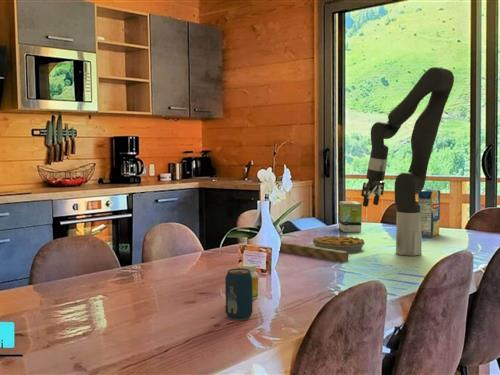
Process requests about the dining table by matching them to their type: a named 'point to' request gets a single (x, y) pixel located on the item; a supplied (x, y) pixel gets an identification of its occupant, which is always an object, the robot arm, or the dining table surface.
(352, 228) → the tea box
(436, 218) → the beverage box
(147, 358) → the dining table surface
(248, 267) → the supplement bottle
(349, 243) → the pie
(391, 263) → the dining table surface
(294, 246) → the walnut board
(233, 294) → the soda can
